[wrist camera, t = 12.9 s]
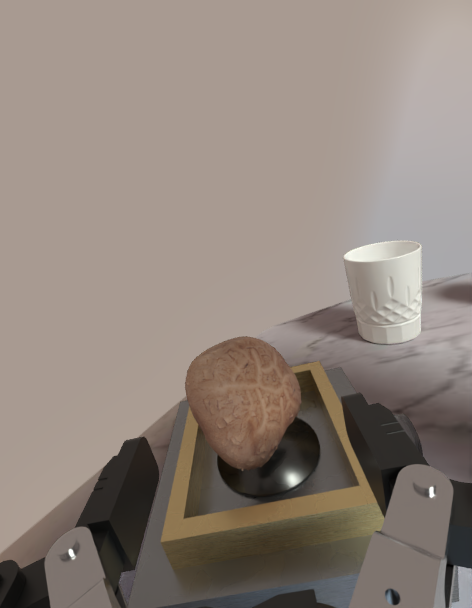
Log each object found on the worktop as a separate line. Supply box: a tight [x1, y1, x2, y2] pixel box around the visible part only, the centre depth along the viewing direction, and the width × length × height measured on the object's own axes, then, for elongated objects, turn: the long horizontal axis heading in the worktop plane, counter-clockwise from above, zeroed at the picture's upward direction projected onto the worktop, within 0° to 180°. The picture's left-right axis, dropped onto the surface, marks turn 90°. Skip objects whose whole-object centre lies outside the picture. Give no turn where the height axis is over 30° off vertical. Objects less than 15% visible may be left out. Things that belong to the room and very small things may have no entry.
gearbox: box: [128, 361, 459, 608], centre depth 23 cm, size 17×19×5 cm
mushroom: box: [185, 336, 302, 471], centre depth 21 cm, size 8×6×8 cm
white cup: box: [343, 241, 422, 344], centre depth 37 cm, size 8×8×10 cm
